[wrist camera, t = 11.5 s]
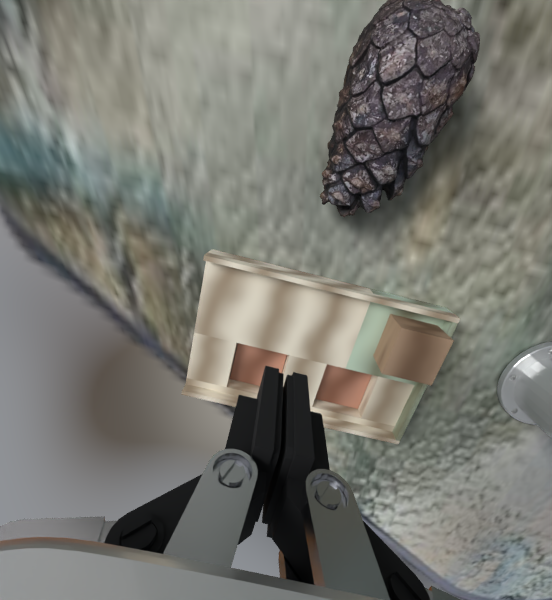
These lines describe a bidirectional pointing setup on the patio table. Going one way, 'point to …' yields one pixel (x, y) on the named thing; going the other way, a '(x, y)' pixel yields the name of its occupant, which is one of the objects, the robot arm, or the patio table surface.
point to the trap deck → (303, 342)
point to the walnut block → (412, 349)
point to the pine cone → (396, 99)
